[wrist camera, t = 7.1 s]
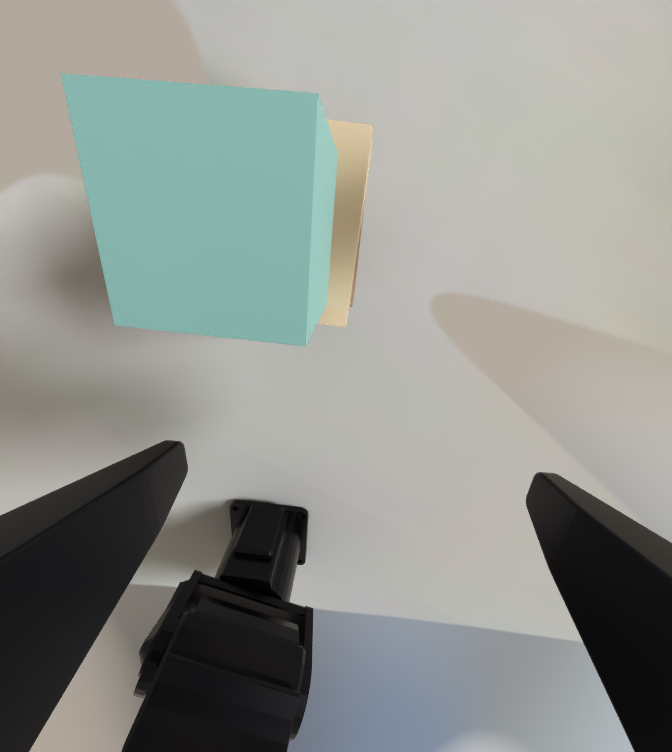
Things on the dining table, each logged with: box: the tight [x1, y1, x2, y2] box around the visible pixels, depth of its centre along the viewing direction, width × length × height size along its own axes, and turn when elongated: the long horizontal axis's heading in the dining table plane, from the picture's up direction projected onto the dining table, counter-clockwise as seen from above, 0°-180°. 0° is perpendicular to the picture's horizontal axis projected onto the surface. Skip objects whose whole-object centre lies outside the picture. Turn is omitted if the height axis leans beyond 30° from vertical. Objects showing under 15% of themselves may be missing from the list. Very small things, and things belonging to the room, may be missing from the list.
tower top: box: [317, 120, 373, 328], centre depth 12 cm, size 6×6×4 cm
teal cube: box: [61, 73, 338, 346], centre depth 8 cm, size 4×4×4 cm
